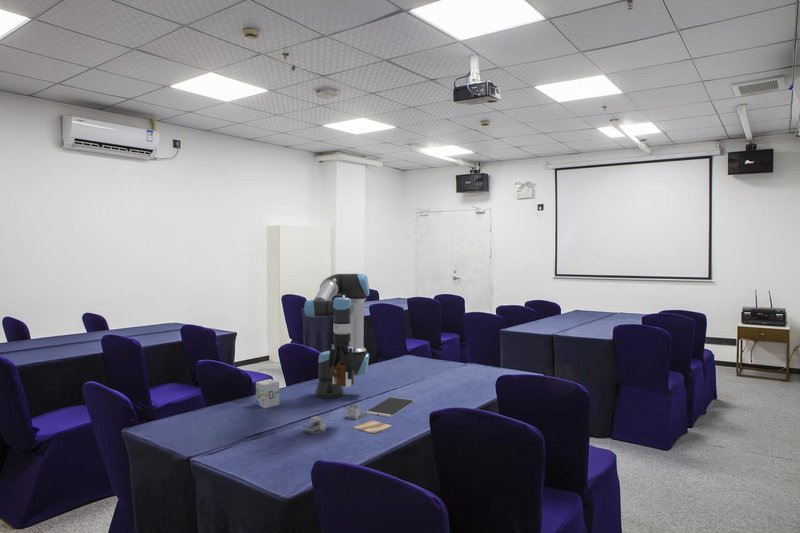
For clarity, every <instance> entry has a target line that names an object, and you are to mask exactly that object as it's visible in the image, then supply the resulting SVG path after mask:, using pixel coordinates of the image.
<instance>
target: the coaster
mask: <svg viewBox="0 0 800 533" xmlns="http://www.w3.org/2000/svg"><path fill="white" fill-rule="evenodd" d="M392 427H393V425H391V424H387V423H383V422H380V421H376V420H373V419H371V420H368V421H365V422H363V423H360V424H358V425H355V426H354V427H353V428H352V429H355V430H358V431H362V432H365V433H368V434H372V435H375V434H378V433H381V432H383V431H385V430H387V429H390V428H392Z"/></svg>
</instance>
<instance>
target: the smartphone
mask: <svg viewBox="0 0 800 533" xmlns="http://www.w3.org/2000/svg"><path fill="white" fill-rule="evenodd" d="M413 403H414V400H413V399H409V398H408V399H407V398H400V397H394V396H393V397H392V396H391V397H389V398H387V399H385V400H382V402H380V403H378V404H376V405H375V406H373V407H372V408H370V409H368V410H366V411H365V414H366V415H371V416H379V417H384V418H385V417H386V418H393V417H394V416H395V415H397V414H398V413H400V412H401V411H402V410H404V409H406V408H407V407H408V406H410V405H412V404H413Z"/></svg>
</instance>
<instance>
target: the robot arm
mask: <svg viewBox="0 0 800 533" xmlns="http://www.w3.org/2000/svg"><path fill="white" fill-rule="evenodd" d="M335 296H344V297H335ZM368 296H370V285H369V278H368V276H367V275H366V274H365V273H364V274H363V273H336V274H332V275H330V276H328V277H327V278H325V279H323V280H322V282H321V284H320V285H319V290H318V291H317V293H316V295H315V297H314V298H313V300H312V299H310V300H305V302H304V308H303V309H304V315H305V316H306V317H309V318H321V317H322V318H333V324H332V325H333V335H332V336H333V337H332V338H333V342H334V344H329V346H328V347H329V350H326V351H322V352H321V353H320V354H319V355H318V361H317V363H318V382H317V385H316V389H315V392H314V395H315V397H317V398H320V399H335V398H340V397H342V396H344V393H345V388H349V387H351V386H352V385H351V379H352V371H354V376H356V377H358V376H365V375H366V374H367V371H368V367H369V359H370V353H369V352H367V349H366V348H365V347H364V334H365V332H364V324H365V323H364V322H365V321H364V319H365V318H364V314H365V312H364V310H365V309H364V302H365V301H366V300H367V297H368ZM333 297H335V298H333ZM332 299H333V300H332ZM339 362H345V365H346V369H347V371H346V386H345V388H344V386H339V385H337V377H333V376H332V375H331V368H332V367H333V366H337V363H339ZM349 368H350V369H349ZM334 373H335V374H336V373H337V370H336V369H335V370H334Z"/></svg>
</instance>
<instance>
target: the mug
mask: <svg viewBox="0 0 800 533" xmlns="http://www.w3.org/2000/svg"><path fill="white" fill-rule="evenodd" d="M335 369H336V370H337V373H336V374H335V373H334V370H335ZM349 369H350V368H349ZM346 371H347V369H346V365H345V362H339V363H337V366H333V367H332V368H331V375H332V376H333V377H337V385H339V386H342V387H346ZM354 383H355V375H354V371H352V379H351V386H353V385H354Z"/></svg>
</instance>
